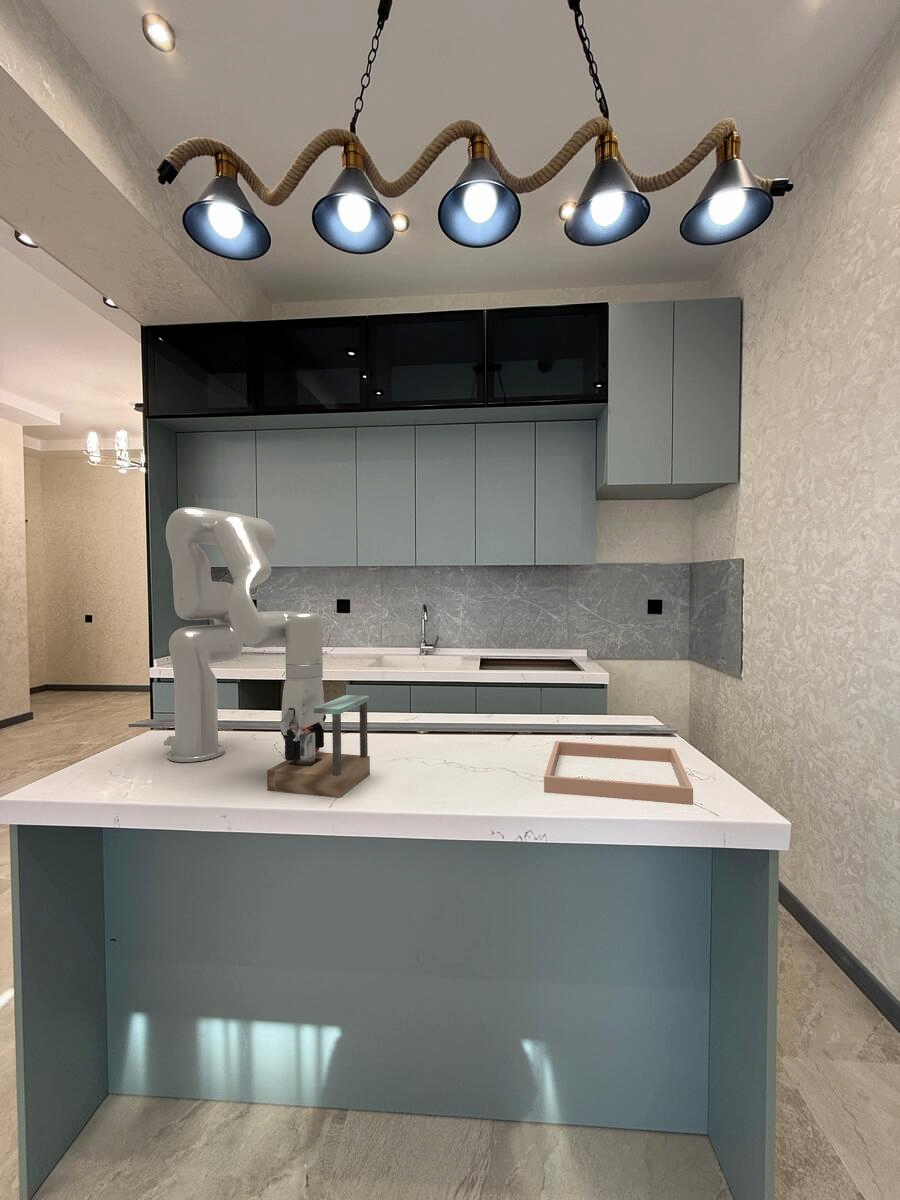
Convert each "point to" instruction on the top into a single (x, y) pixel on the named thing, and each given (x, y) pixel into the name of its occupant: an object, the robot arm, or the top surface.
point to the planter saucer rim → (619, 788)
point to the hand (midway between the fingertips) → (305, 753)
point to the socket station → (327, 759)
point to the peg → (307, 748)
